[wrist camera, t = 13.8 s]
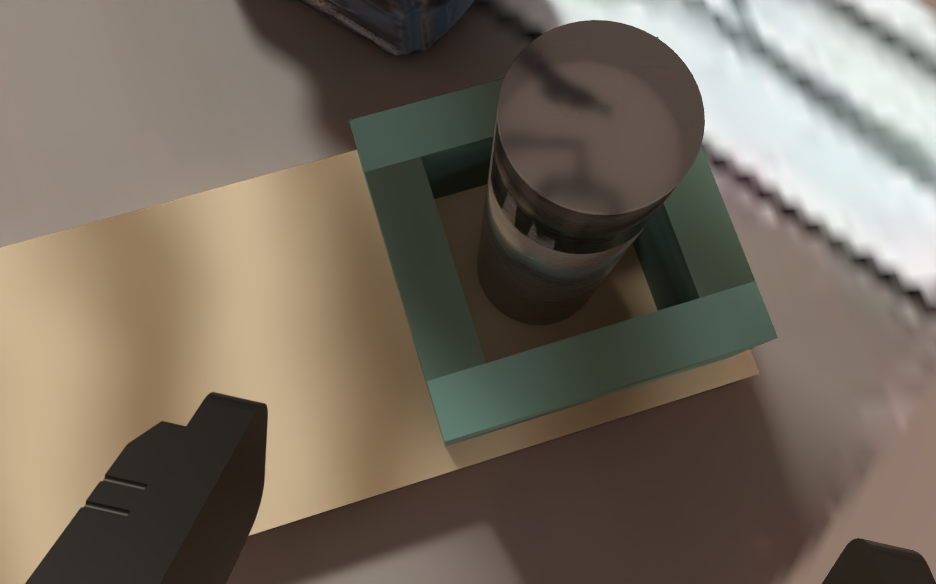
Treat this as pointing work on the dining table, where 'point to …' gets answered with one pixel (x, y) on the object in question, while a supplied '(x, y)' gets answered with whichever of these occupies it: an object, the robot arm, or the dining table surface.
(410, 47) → the impact wrench
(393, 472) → the board
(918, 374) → the dining table surface
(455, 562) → the dining table surface
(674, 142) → the dark grey metallic cylinder
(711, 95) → the dining table surface
